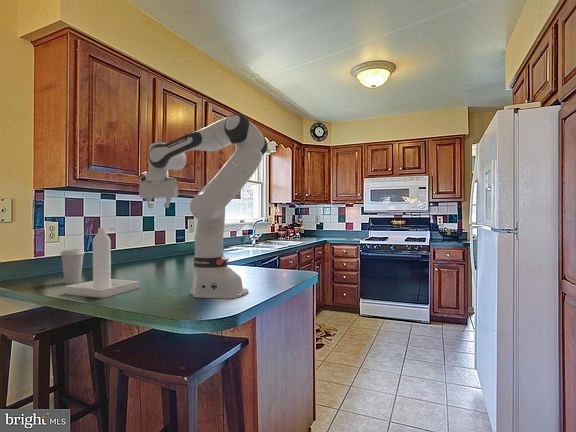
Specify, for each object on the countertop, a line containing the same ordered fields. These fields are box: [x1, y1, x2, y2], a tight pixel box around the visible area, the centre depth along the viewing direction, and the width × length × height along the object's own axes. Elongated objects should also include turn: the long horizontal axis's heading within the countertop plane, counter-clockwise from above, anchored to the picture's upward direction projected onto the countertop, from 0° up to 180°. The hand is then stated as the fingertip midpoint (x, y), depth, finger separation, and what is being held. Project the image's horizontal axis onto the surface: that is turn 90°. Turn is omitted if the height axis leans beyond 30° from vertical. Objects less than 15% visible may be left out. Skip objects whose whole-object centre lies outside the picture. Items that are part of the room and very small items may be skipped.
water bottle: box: [92, 227, 116, 289], centre depth 141 cm, size 9×6×25 cm
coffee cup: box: [59, 248, 86, 285], centre depth 160 cm, size 10×10×15 cm
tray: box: [64, 278, 140, 299], centre depth 141 cm, size 20×18×3 cm
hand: (158, 207), depth 162 cm, fingers open, 8 cm apart
